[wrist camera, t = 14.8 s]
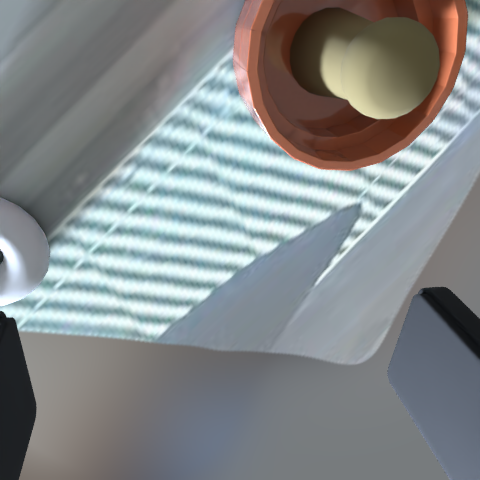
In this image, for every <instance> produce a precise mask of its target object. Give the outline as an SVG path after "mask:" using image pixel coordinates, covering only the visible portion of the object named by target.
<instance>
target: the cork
mask: <svg viewBox="0 0 480 480" xmlns="http://www.w3.org/2000/svg"><path fill="white" fill-rule="evenodd" d="M290 65H291V69H292V73H293V76H294V77H295V79H296V81H297V82H298V84H299V85H300V86H301V87H302V88H304V89H305V90H306V91H307V92H309V93H312V94H315V95H318V96H324V97H331V98H338V99H345V100H348V101H349V103H350V104H351V105H352V106H353V107H354V108H355V109H356V110H358V111H359V112H360V113H362V114H363V115H366V116H369V117H372V118H375V119H391V118H397V117H399V116H402V115H405V114H407V113H409V112H410V111H411V110H413V109H414V108H416V107H417V106H418V105H420V104H421V103H422V102H423V100H424V99H425V98H426V97H427V96H428V94H429V93H430V92H431V90H432V88H433V86H434V84H435V82H436V80H437V76H438V71H439V67H440V60H439V48H438V45H437V43H436V40H435V38H434V35H433V34H432V33H431V32H430V31H429V30H428V29H427V28H426V27H425V26H424V25H423V24H421V23H420V22H417V21H415V20H412V19H410V18H408V17H387V18H384V19H382V20H379V21H376V22H373V21H370V20H368V19H366V18H363V17H361V16H359V15H356V14H354V13H352V12H349V11H347V10H344V9H342V8H339V7H334V8H324V9H322V10H319V11H316V12H314V13H313V14H312V15H310V16H309V17H308V18H307V19H306V20H304V21H303V22H302V24H301V25H300V27H299V28H298V30H297V31H296V33H295V35H294V38H293V41H292V44H291V47H290Z"/></svg>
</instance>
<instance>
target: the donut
mask: <svg viewBox="0 0 480 480" xmlns="http://www.w3.org/2000/svg"><path fill="white" fill-rule="evenodd" d="M0 250H1V251H2V253H3V256H4V259H3V262H2V263H1V264H0V306H4V305H7V304H10V303H12V302H15V301H18V300H20V299H23V298H25V297H26V296H27V295H28V294H30V293H31V292H32V291H34V290H35V289H36V288H37V287H38V286H39V285H40V283H41V281H42V280H43V278H44V276H45V275H46V273H47V271H48V266H49V257H50V249H49V246H48V242H47V238H46V235H45V233H44V232H43V231H42V229H41V228H40V226H39V225H38V223H37V222H36V220H35V219H34V218H33V217H32V216H31V215H29V214H28V213H27V212H26V211H24V210H23V209H22V208H21V207H19V206H18V205H16V204H14V203H12V202H10V201H7V200H5V199H3V198H1V197H0Z"/></svg>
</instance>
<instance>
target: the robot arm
mask: <svg viewBox="0 0 480 480" xmlns="http://www.w3.org/2000/svg"><path fill="white" fill-rule="evenodd" d="M388 378H389V382H390V384H391V385H392V387H393V389H394V390H395V392H396V394H397V395H398V397H399V398H400V400H401V401H402V403H403V405H404V406H405V408H406V410H407V411H408V413H409V415H410V416H411V418H412V419H413V421H414V422H415V424H416V426H417V427H418V429H419V431H420V432H421V434H422V435H423V437H424V439H425V440H426V442H427V443H428V445H429V447H430V448H431V450H432V452H433V453H434V455H435V456H436V458H437V460H438V461H439V463H440V464H441V466H442V468H443V469H444V471H445V473H446V474H447V476H448V477H449V479H450V480H480V319H479V318H478V317H477V316H476V315H475V314H474V313H473V312H472V311H471V310H470V309H469V308H468V307H467V306H466V305H465V304H464V303H463V302H462V301H461V300H460V299H459V298H458V297H457V296H456V295H455V294H453V292H451V290H449V289H448V288H446V287H432V288H423V289H421V290H420V291H419V292H418V294H416V295H415V296H414V297H413V299H412V301H411V304H410V307H409V310H408V313H407V316H406V318H405V321H404V324H403V327H402V330H401V333H400V336H399V338H398V341H397V344H396V347H395V350H394V353H393V356H392V358H391V361H390V364H389V367H388ZM35 418H36V401H35V397H34V393H33V389H32V385H31V381H30V377H29V373H28V369H27V365H26V361H25V357H24V353H23V349H22V345H21V341H20V337H19V333H18V329H17V325H16V322H15V319H14V318H6V315H5V313H4V312H2V311H0V480H19V476H20V473H21V469H22V466H23V462H24V458H25V455H26V451H27V447H28V444H29V440H30V437H31V433H32V430H33V426H34V422H35Z"/></svg>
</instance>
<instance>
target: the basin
mask: <svg viewBox="0 0 480 480" xmlns="http://www.w3.org/2000/svg"><path fill="white" fill-rule="evenodd" d="M334 7H339V8H342V9H344V10H347V11H349V12H352V13H354V14H356V15H359V16H361V17H363V18H366V19H368V20H370V21H373V22H376V21H379V20H382V19H384V18H387V17H408V18H410V19H412V20H415V21H417V22H420V23H421V24H423V25H424V26H425V27H426V28H427V29H428V30H429V31H430V32H431V33H432V34H433V35H434V38H435V40H436V43H437V45H438V48H439V60H440V67H439V71H438V76H437V80H436V82H435V84H434V86H433V88H432V90H431V92H430V93H429V94H428V96H427V97H426V98H425V99H424V100H423V102H422V103H421V104H420V105H418V106H417V107H416V108H414V109H413V110H411V111H410V112H409V113H407V114H405V115H402V116H399V117H397V118H391V119H375V118H372V117H369V116H366V115H363V114H362V113H360V112H359V111H358V110H356V109H355V108H354V107H353V106H352V105H351V104H350V103H349V101H348V100H345V99H338V98H331V97H324V96H318V95H315V94H312V93H309V92H307V91H306V90H305V89H304V88H302V87H301V86H300V85H299V84H298V82H297V81H296V79H295V77H294V76H293V73H292V69H291V65H290V47H291V44H292V41H293V38H294V35H295V33H296V31H297V30H298V28H299V27H300V25H301V24H302V22H303V21H304V20H306V19H307V18H308V17H309V16H310V15H312V14H313V13H314V12H316V11H319V10H322V9H324V8H334ZM467 21H468V12H467V7H466V3H465V0H245V2H244V5H243V8H242V10H241V13H240V16H239V18H238V21H237V23H236V29H235V40H234V52H233V65H234V70H235V75H236V80H237V85H238V89H239V93H240V95H241V97H242V99H243V101H244V103H245V104H246V106H247V108H248V110H249V111H250V113H251V115H252V117H253V119H254V120H255V121H256V122H257V123H258V124H259V126H260V127H261V128H262V129H263V130H264V131H265V133H266V134H267V135H268V136H269V137H270V138H271V139H272V140H273V141H274V142H275V143H276V144H277V145H278V146H280V147H281V148H282V149H283V150H284V151H285V152H286V153H287V154H288V155H290V156H291V157H292V158H294V159H296V160H298V161H301V162H303V163H306V164H308V165H311V166H313V167H316V168H318V169H325V170H355V169H358V168H362V167H366V166H369V165H373V164H377V163H380V162H382V161H384V160H385V159H387V158H389V157H390V156H392V155H394V154H395V153H397V152H399V151H401V150H402V149H404V148H406V147H407V146H409V145H410V144H411V143H412V142H413V141H414V140H415V139H416V138H417V137H418V136H419V135H420V134H421V133H422V132H423V131H424V130H425V129H426V128H427V127H428V126H429V125H430V124H431V123H432V122H433V120H434V119H435V117H436V116H437V114H438V113H439V111H440V109H441V108H442V106H443V105H444V103H445V101H446V100H447V98H448V96H449V95H450V93H451V92H452V90H453V88H454V85H455V82H456V79H457V76H458V73H459V70H460V67H461V64H462V61H463V58H464V55H465V50H466V35H467Z"/></svg>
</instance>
